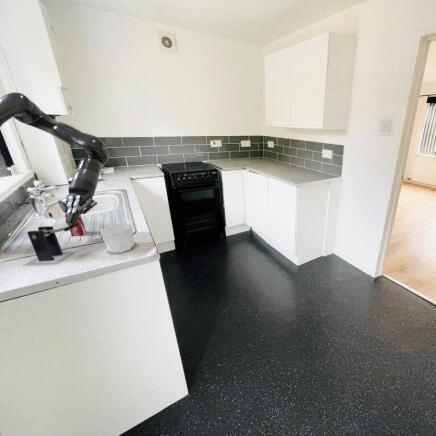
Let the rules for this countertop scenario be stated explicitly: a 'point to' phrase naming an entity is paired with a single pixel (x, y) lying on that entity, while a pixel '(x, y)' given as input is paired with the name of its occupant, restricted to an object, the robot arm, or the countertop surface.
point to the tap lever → (58, 229)
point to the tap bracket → (45, 244)
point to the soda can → (79, 229)
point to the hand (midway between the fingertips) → (70, 224)
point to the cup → (118, 237)
